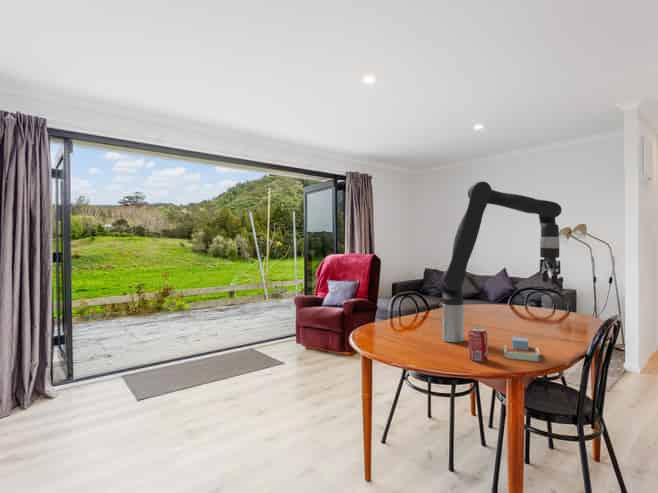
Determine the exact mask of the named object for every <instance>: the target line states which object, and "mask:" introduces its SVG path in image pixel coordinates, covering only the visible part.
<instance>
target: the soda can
mask: <svg viewBox="0 0 658 493" xmlns="http://www.w3.org/2000/svg"><path fill="white" fill-rule="evenodd" d="M467 336H468V337H467V340H468V344H467V345H468V346H467V347H468V357H469V359H470V360H472V361H474V362H479V363H481V362H485V361H487V360H488V358H489V356H488V354H489V353H488V352H489V346H488V345H489V343H488V340H489V339H488V333H487V331H486V329H485V328H482V327H471V328H469V332H468V335H467Z"/></svg>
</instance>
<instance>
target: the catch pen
mask: <svg viewBox="0 0 658 493" xmlns="http://www.w3.org/2000/svg"><path fill="white" fill-rule="evenodd" d="M503 356H504V357H503V358H504V359H511V360H521V361H531V362H541V353H540V350H539V347H535V353H528V352H516V351H515V352H514V351H507V344H504V345H503Z"/></svg>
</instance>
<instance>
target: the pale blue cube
mask: <svg viewBox="0 0 658 493" xmlns="http://www.w3.org/2000/svg"><path fill="white" fill-rule="evenodd" d="M511 346H512V347H511V348H512V350H517V349H518V351H519V350H520V351H529V340H528V338H527V337H517V336H512V337H511Z"/></svg>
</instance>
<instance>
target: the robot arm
mask: <svg viewBox="0 0 658 493" xmlns="http://www.w3.org/2000/svg"><path fill="white" fill-rule="evenodd" d="M467 197H468V199H469V200H468V206H467V209H466V211H465V213H464V215H463V217H462V219H461V221H460V222H459V225H458V228H457V231H456V233H455V236H454V241H453V246H452V255H451V260H450V262H449V265H448V268H447V270H445V271H444V272H443V274H442V275H441V298H442V319H441V322H442V323H441V324H442V326H441V328H442V330H441V331H442V341H443V342H446V343H447V342H448V343H463V342H465V333H464V332H465V329H464V327H465V326H464V325H465V324H464V296H463V284H464V282H465V277H466V271H467V267H468V264H469V261H470V258H471V256H472V253H473V250H474V247H475V245H476V242H477V240H478V236H479V232H480V228H481V224H482V220H483V217H484V216H483V215H484V213H485V210H486V209H487V208H486V207H487V206H488V204H489V205H495V206H499V207H503V208H508V209H511V210H515V211H518V212H521V213H526V214H531V215H533V214H535V215H538V219H539V225H540V244H539V245H540V246H539V250H540V251H539V252H540V253H539V254H540V255H539V257H540V258H543V259H539V272H540V273H541V274H542V276H541V277H542V282H544V283H548V282H549V272H550V274H551V277H550V280H551V285H557V284H558V276H560V275H561V261H560V260H557V259H558V258H560V237H559V236H560V228H559V225H558V224H557V222H556V218H557V217H559V216H560V215H561V214H562V206H561V205H560V204H559V203H557V202H555V201H550V200H545V199H537V198H533V197H529V196H527V195H522V194H516V193H509V192H508V193H507V192H501V191H498V190H497V191H496V190H494V189H492V186H491V185H490V184H489V183H488V182H486V181H478V182H476V183H474V184H472V185H471V186H470V187H469V188H468V191H467Z"/></svg>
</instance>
